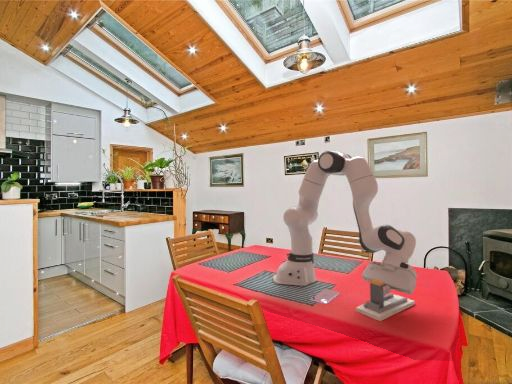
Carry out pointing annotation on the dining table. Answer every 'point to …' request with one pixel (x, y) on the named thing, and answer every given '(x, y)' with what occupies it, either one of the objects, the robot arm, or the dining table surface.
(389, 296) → the switch plate
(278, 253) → the dining table surface
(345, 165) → the robot arm
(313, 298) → the mobile phone
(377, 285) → the switch tab
